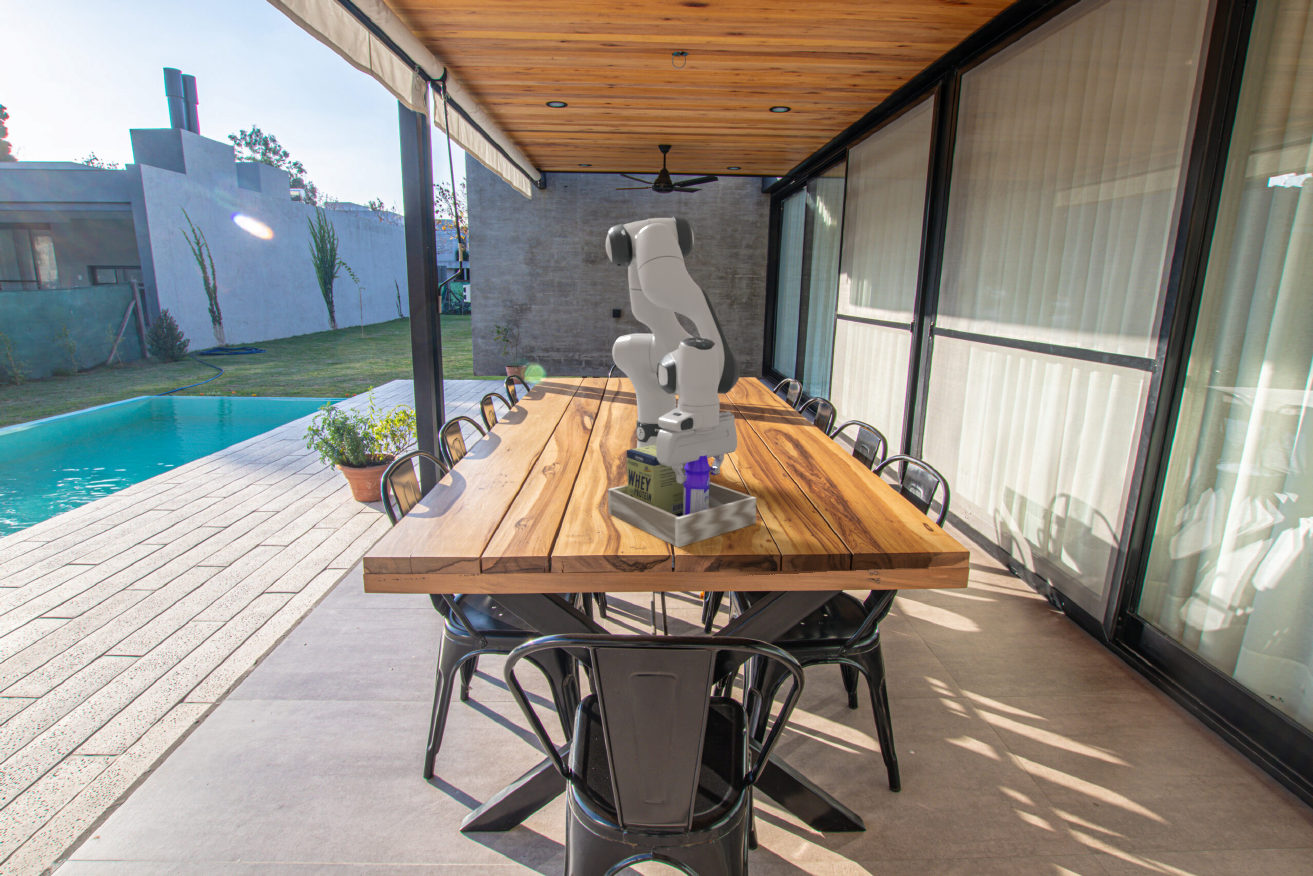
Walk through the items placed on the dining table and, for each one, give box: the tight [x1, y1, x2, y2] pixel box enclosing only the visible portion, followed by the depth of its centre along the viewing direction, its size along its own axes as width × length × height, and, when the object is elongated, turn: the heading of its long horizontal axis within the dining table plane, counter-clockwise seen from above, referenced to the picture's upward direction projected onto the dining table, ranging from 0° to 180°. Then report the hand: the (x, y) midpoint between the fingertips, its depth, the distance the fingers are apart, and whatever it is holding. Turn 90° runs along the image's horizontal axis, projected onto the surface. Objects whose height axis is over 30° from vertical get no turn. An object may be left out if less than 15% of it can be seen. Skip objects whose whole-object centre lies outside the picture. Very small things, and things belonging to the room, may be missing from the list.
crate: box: [607, 481, 757, 548], centre depth 145 cm, size 22×26×6 cm
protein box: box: [626, 445, 686, 517], centre depth 148 cm, size 10×16×16 cm
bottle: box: [683, 450, 711, 516], centre depth 139 cm, size 7×6×17 cm
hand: (698, 478), depth 139 cm, fingers open, 8 cm apart
